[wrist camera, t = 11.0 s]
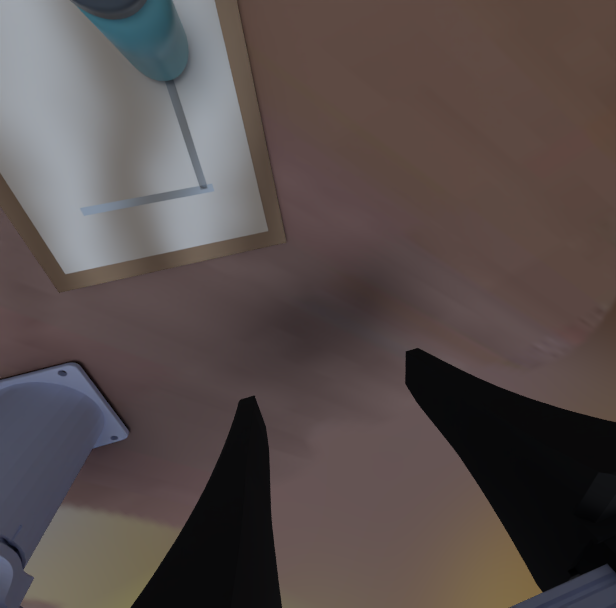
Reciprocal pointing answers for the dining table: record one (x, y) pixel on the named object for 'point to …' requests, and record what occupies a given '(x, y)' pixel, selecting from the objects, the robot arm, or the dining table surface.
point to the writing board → (130, 146)
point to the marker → (142, 33)
